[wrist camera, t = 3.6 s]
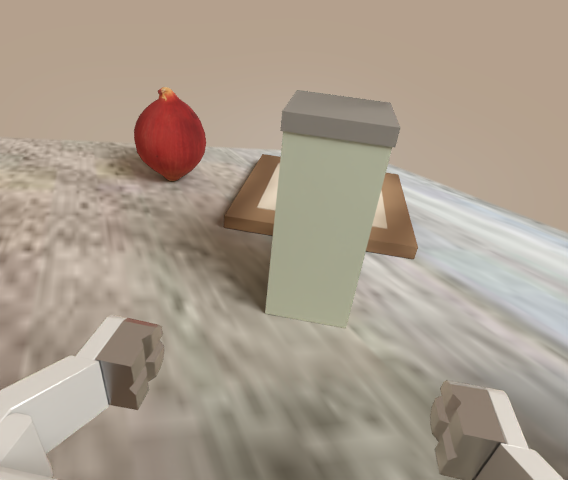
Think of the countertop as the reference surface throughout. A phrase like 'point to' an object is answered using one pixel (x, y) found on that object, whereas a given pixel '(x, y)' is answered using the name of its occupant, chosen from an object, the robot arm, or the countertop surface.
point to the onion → (170, 136)
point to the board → (262, 203)
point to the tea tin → (326, 202)
